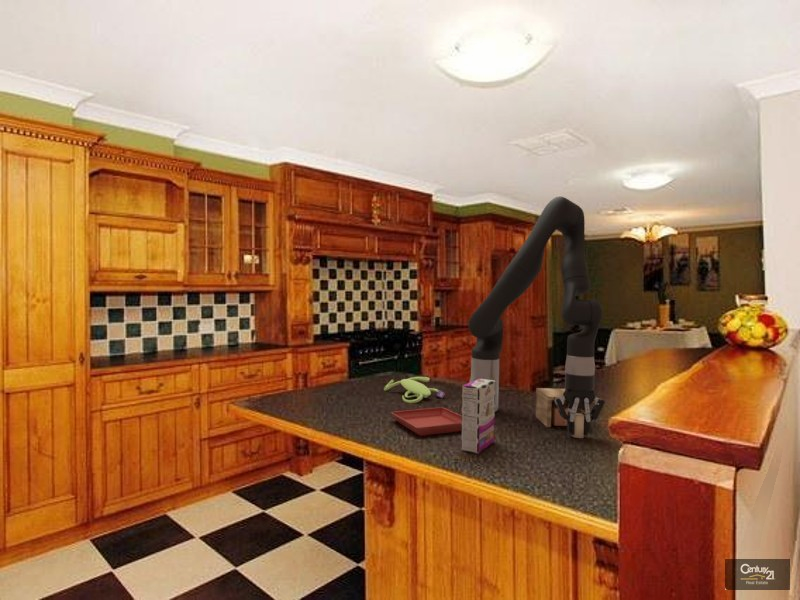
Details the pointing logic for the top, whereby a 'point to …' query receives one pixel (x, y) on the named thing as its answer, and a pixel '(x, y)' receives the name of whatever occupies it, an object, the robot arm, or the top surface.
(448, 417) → the plant saucer
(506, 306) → the robot arm
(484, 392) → the candy bar box
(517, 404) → the top surface
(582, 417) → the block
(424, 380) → the figurine
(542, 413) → the shelf cubby
